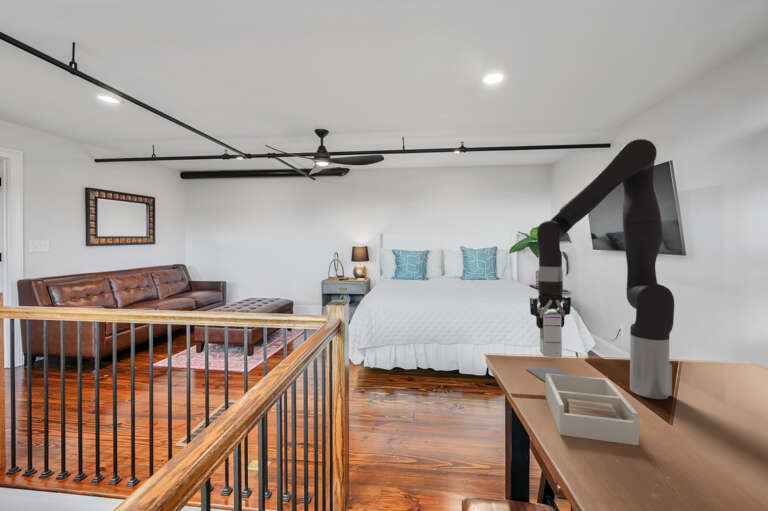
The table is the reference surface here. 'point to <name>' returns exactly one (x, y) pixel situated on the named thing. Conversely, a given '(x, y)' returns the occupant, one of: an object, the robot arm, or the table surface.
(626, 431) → the white divided tray
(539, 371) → the rubber mat
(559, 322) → the syrup box
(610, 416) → the offcut stack
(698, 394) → the table surface
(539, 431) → the table surface
